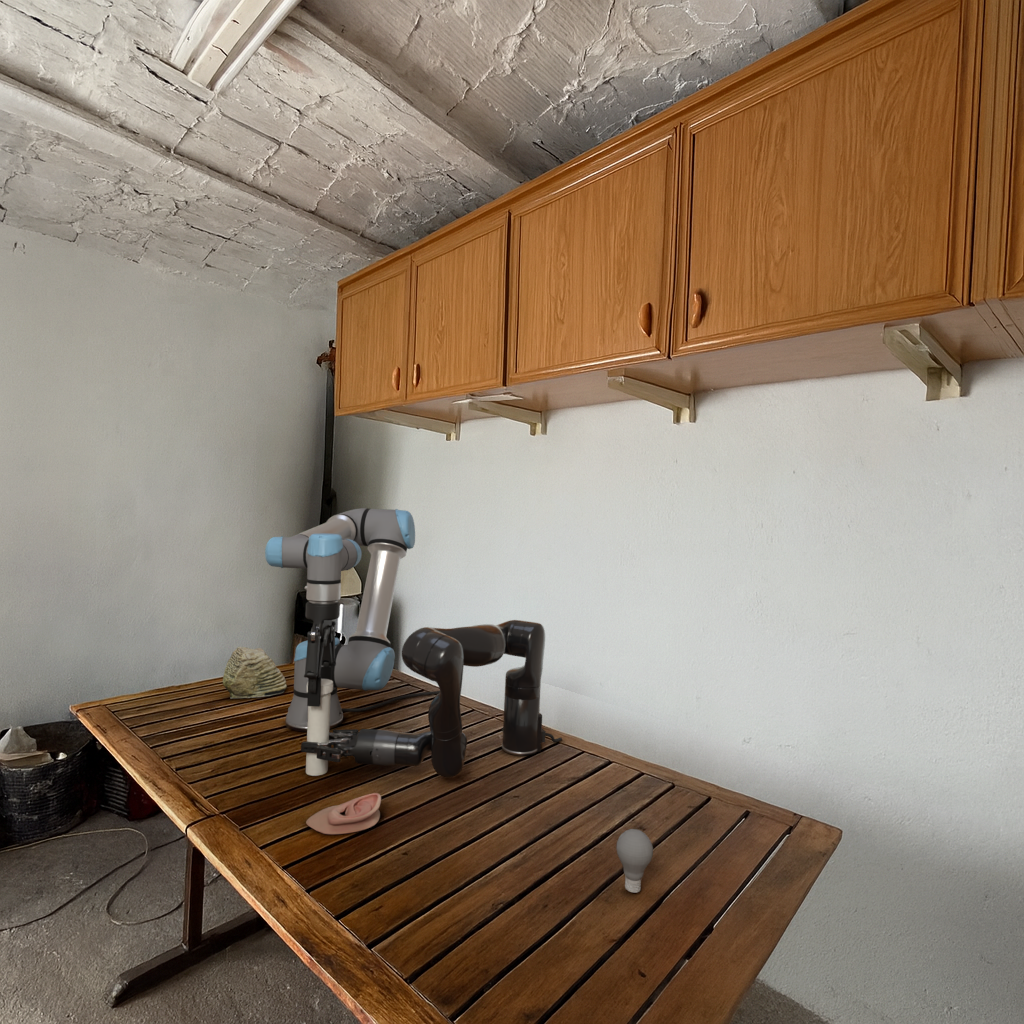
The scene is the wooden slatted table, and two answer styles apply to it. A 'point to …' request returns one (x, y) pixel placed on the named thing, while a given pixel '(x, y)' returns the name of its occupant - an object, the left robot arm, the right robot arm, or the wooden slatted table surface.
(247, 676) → the fossil
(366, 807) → the anatomical model
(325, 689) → the lid
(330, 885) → the wooden slatted table surface
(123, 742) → the wooden slatted table surface
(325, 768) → the jar
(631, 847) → the light bulb
